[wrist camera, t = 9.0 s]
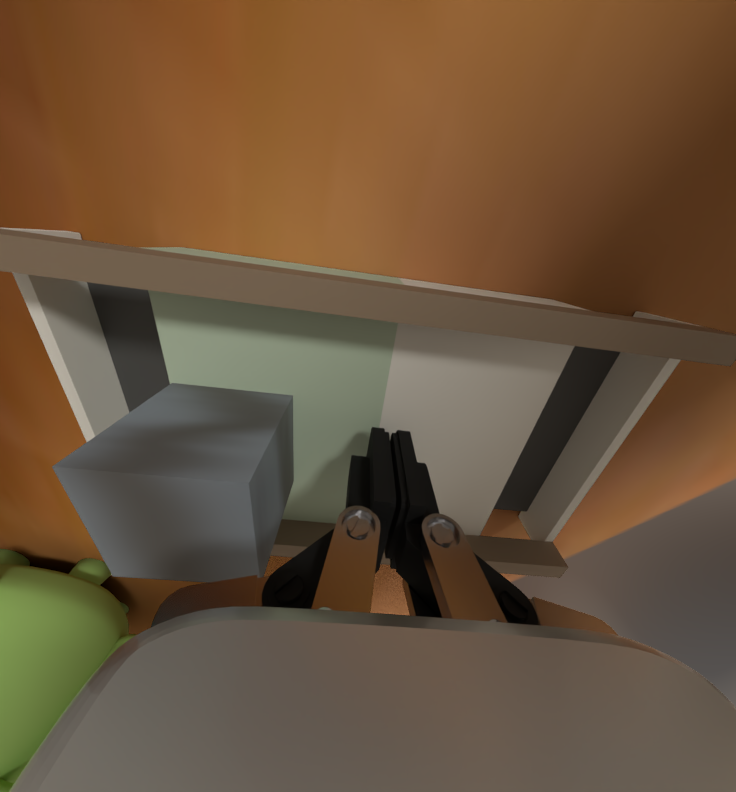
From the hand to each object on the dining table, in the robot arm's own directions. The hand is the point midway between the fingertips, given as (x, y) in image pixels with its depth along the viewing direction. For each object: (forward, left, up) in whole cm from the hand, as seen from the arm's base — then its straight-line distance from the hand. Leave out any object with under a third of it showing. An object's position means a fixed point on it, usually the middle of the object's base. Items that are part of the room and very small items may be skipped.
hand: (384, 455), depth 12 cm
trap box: (+1, 0, -3) cm, 4 cm away
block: (+7, +1, -1) cm, 7 cm away
